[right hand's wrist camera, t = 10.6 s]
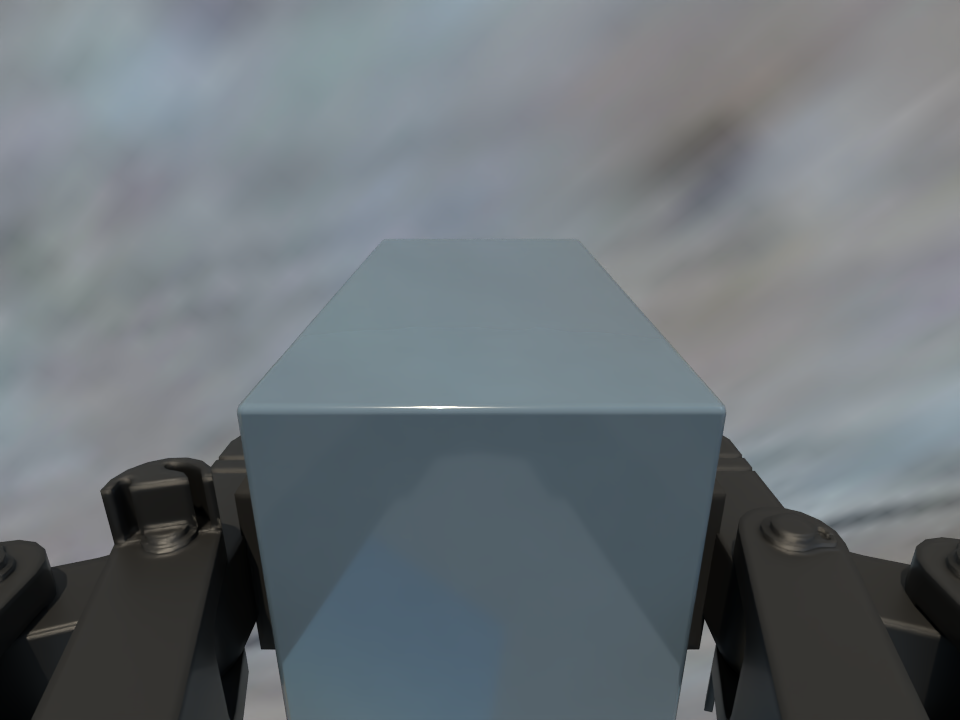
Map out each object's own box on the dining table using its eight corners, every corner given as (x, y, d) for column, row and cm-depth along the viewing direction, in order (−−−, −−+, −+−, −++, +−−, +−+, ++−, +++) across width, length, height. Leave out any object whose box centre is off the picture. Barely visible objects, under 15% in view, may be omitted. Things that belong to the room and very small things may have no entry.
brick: (381, 238, 15) (231, 406, 6) (579, 238, 15) (731, 405, 6) (394, 456, 18) (300, 820, 8) (566, 456, 18) (661, 820, 8)
